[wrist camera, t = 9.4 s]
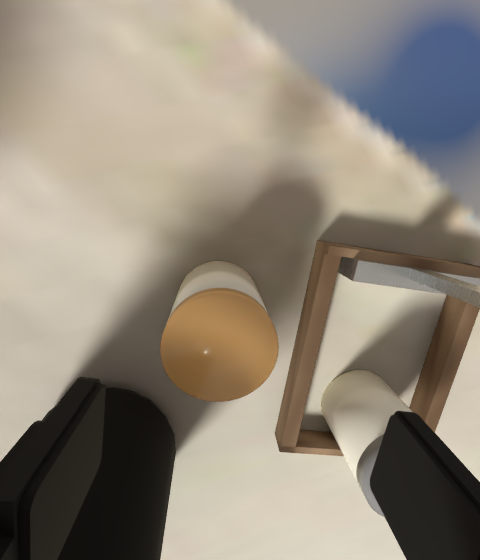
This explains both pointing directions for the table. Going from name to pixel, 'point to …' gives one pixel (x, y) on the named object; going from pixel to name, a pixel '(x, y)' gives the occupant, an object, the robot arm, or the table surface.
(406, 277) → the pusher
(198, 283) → the jar
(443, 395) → the brown wooden frame
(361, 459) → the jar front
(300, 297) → the table surface
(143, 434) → the coffee jar
